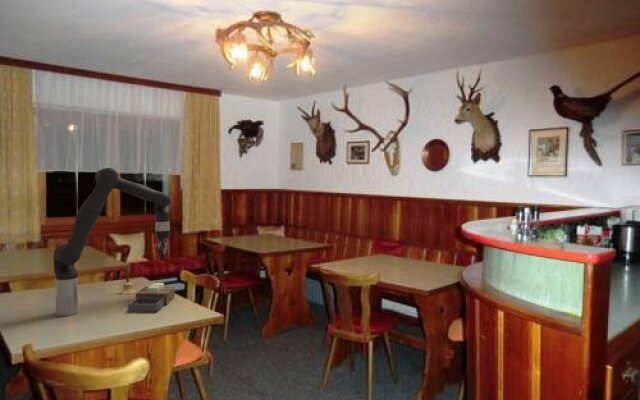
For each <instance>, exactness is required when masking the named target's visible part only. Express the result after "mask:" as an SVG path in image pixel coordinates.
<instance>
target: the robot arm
mask: <svg viewBox="0 0 640 400" xmlns="http://www.w3.org/2000/svg"><path fill="white" fill-rule="evenodd" d="M94 178H95V181H96V184H95V187H94V188H93V190H92V192H91V193H90V194H89V195H88V197H87V198H86V199H85V200H84V202H83V203H82V205H81V206H80V208H79V209H78V212H76V213H77V214H76V215H75V219H74V221H73V222H74V223H73V231H72V234H71V236H70V238H69V240H68V242H67V243H66V244H65V243H64V244H63V243H62V244H59V245H58V246H57V247H56V248H54V249H55V250H54V251H53V255H52V258H53V272H54V274H55V295H56V296H55V316H59V317H69V316H72V315H75V314H77V313H79V276H78V275H79V272H78V271H77V269H76V267H75V264H76V263H77V262H78V261H79V260H80V258H81V256H82V253H83V251H84V248H85V245H86V242H87V241H88V238H89V236H90V234H91V232H92V230H93V228H94V227H95V225H96V223H97V220H98V219H99V216H101V212H102V210H103V208H104V206H105V203H106V202H107V199H108V198H109V196H110V194H111V192H112V190H113V189H115V190H117V191H121V192H124V193H127V194H129V195H131V196H134V197H136V198H139V199H142V200H144V201H147V202H151V203H154V204H153V205H154V211H155V238H156V239H158V243H157V245H156V248H157V251H158V254H160V255H159V257H160V261H161V262H162V261H163V262H164V261H165V260H166V253H167V251H168V247H169V242H168V239H169V238H170V237H171V230H170V229H171V226H170V225H171V224H170V212H169V211H168V209H167V207H168V206H170V205H171V203H172V198H171V196H170V195H169V194H167V193H164V192H161V191H159V190H155V189H153V188H151V187H149V186H146V185H144V184H141V183H139V182H138V183H137V182H133V181H131V180H127V179H125V178H122V177H120V176H119V173H118V171H117V170H116V169H114V168H111V167H105V168H101V169H100V170H98V171H97V172H96V173H95V176H94Z"/></svg>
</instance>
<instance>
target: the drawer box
mask: <svg viewBox="0 0 640 400" xmlns="http://www.w3.org/2000/svg"><path fill="white" fill-rule="evenodd" d="M148 287H149V286H144V287H143V288H141V289H140V290H138V291H136V293H135V299H136V298H137V297H140V298H165V306H168V305H169V304H170V303H171V302H172V301H173V300H174V299H176V298H175V297H176V295H175V294H176V290H175V289H176V288H175V286H164V288H163V289H161V290H160V291H159V292H158V293H148Z"/></svg>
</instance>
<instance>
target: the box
mask: <svg viewBox="0 0 640 400" xmlns="http://www.w3.org/2000/svg"><path fill="white" fill-rule="evenodd" d="M127 304H128V305H127V312H128V313H156V314H157V313H158V312H159V311H161V310H162V309H163V307H164V306H166V305H165V298H140V297H137V298H136V297H135V298H134V299H133V300H132V301H131V302H129V303H127Z"/></svg>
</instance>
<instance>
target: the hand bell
mask: <svg viewBox="0 0 640 400" xmlns="http://www.w3.org/2000/svg"><path fill="white" fill-rule="evenodd" d="M130 272H131V268H130V265H128V264H126V265H125V268H124V274H125V277H126V278H125V281H126V282H125V283H123V286H122V290H121V291H120V292H119V294H120V295H122V296H128V295H129V296H130V295H135V294H136V293H137V291H136V290H135V289H134V288H133V283H132V282H130V274H131V273H130Z"/></svg>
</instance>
